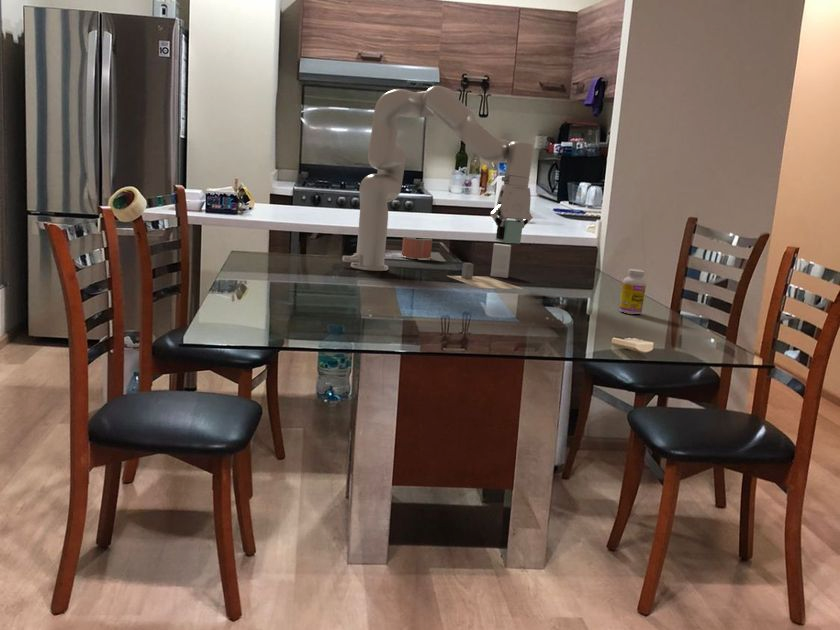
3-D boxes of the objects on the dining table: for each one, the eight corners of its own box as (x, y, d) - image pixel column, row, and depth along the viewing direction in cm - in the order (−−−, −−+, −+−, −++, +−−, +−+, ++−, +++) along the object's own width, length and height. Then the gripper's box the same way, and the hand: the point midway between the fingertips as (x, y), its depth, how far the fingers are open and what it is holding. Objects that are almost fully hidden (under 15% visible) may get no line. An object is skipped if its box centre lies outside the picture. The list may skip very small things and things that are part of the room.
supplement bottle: (628, 315, 255) (635, 271, 253) (613, 310, 261) (619, 268, 258) (646, 315, 258) (652, 272, 256) (631, 310, 264) (637, 268, 262)
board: (480, 292, 271) (480, 288, 271) (445, 279, 290) (445, 275, 290) (523, 292, 278) (523, 288, 278) (486, 280, 297) (487, 276, 297)
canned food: (412, 255, 344) (415, 224, 342) (436, 259, 338) (439, 228, 336) (395, 256, 335) (398, 225, 333) (419, 261, 329) (422, 229, 327)
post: (465, 279, 286) (466, 264, 285) (461, 277, 288) (462, 262, 287) (472, 279, 287) (473, 264, 286) (468, 278, 289) (469, 262, 288)
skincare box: (507, 279, 304) (511, 245, 302) (507, 281, 300) (511, 246, 297) (490, 277, 304) (493, 243, 302) (489, 279, 300) (493, 244, 298)
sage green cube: (505, 242, 274) (508, 221, 273) (495, 239, 279) (498, 219, 278) (520, 243, 277) (523, 222, 276) (510, 240, 282) (513, 220, 281)
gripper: (499, 180, 267) (491, 239, 271) (545, 185, 275) (537, 242, 279) (486, 178, 274) (478, 236, 277) (532, 183, 282) (524, 239, 285)
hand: (508, 238), depth 278 cm, fingers closed on sage green cube, 5 cm apart
